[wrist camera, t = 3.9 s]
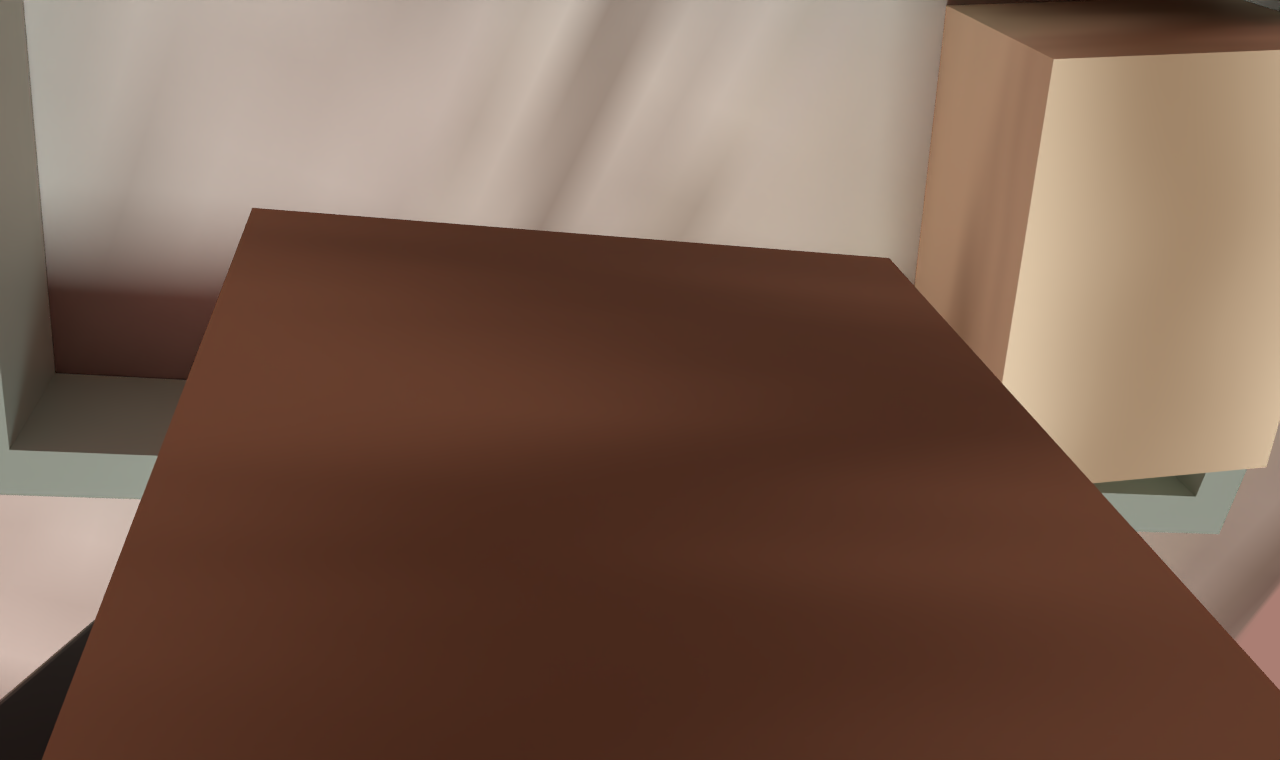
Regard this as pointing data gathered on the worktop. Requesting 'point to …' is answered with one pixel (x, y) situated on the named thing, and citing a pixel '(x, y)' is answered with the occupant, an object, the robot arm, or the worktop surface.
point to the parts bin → (143, 407)
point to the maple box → (1115, 223)
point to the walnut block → (625, 526)
